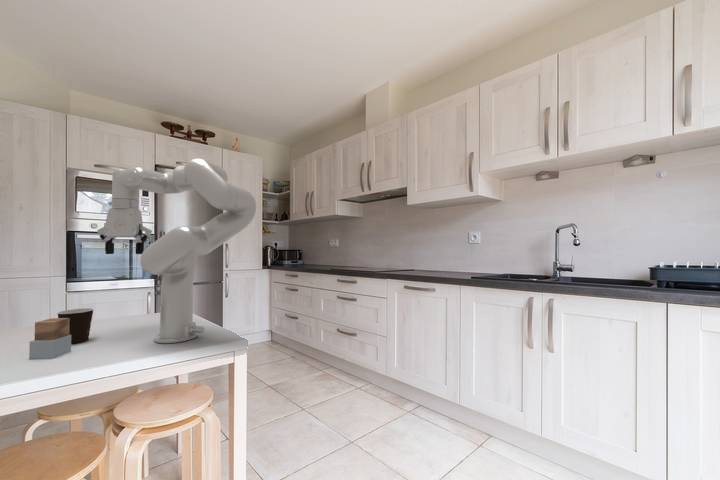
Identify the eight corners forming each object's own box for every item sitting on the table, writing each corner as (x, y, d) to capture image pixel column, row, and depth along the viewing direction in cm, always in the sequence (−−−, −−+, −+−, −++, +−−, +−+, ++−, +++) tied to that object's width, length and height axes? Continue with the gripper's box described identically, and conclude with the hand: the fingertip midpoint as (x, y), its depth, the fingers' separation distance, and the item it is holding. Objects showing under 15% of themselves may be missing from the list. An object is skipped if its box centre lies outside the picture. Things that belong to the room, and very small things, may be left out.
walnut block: (53, 340, 87) (53, 322, 87) (34, 340, 86) (34, 322, 86) (69, 335, 92) (69, 318, 92) (51, 335, 91) (51, 318, 91)
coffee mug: (85, 344, 98) (86, 312, 98) (50, 347, 95) (51, 314, 95) (100, 334, 109) (101, 305, 109) (69, 337, 106) (70, 307, 106)
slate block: (70, 351, 92) (71, 334, 92) (53, 359, 86) (53, 340, 86) (48, 352, 91) (48, 335, 91) (29, 359, 85) (29, 341, 85)
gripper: (90, 203, 104) (89, 254, 104) (145, 204, 106) (144, 254, 106) (106, 206, 112) (105, 253, 112) (157, 207, 114) (156, 253, 113)
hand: (124, 254), depth 109 cm, fingers open, 9 cm apart
